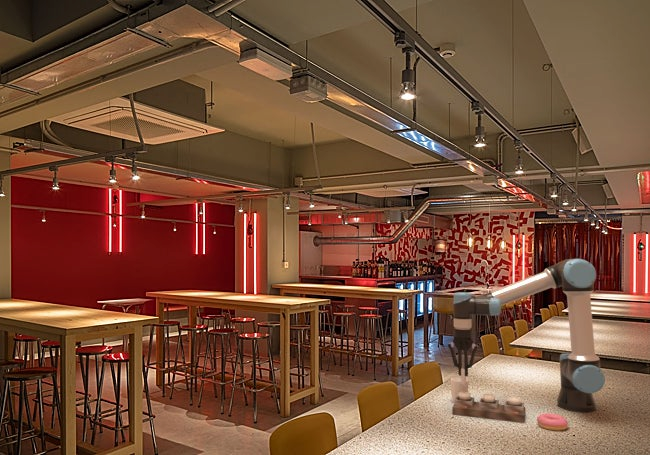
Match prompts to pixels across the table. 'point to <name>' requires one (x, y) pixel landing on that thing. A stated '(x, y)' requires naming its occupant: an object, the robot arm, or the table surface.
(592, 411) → the robot arm
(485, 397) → the button mid
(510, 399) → the button near
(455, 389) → the tan paper cup
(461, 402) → the panel
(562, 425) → the doughnut
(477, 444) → the table surface
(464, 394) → the button far
